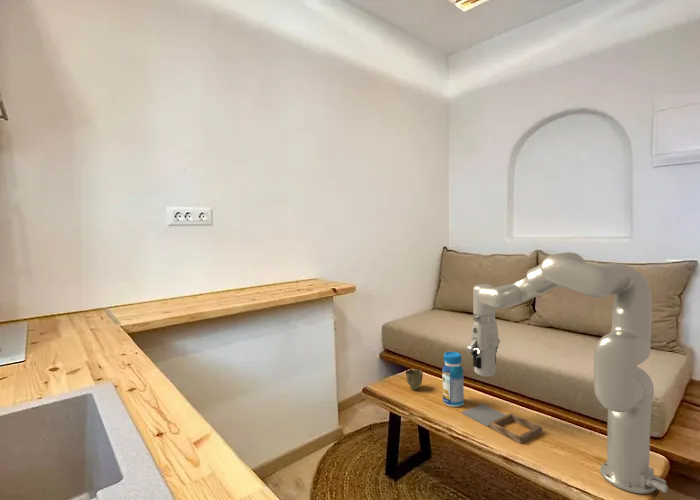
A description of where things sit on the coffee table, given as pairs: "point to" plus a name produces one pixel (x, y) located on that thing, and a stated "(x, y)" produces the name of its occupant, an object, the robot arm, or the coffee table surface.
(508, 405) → the coffee table surface
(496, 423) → the wooden picture frame
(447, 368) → the beverage bottle
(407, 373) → the cup
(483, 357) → the can
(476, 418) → the mat
